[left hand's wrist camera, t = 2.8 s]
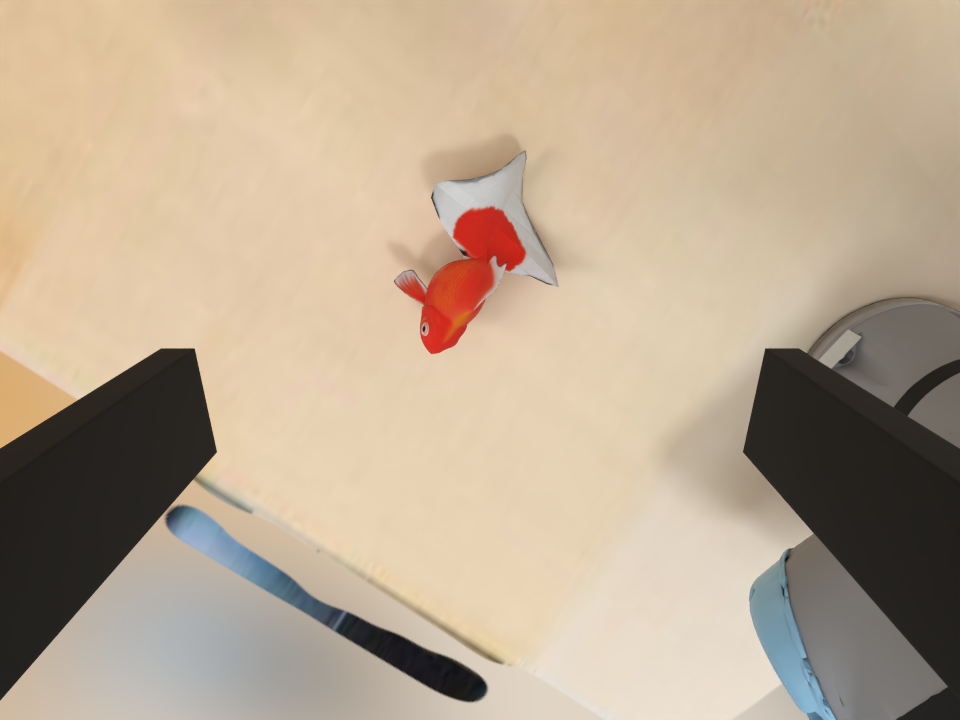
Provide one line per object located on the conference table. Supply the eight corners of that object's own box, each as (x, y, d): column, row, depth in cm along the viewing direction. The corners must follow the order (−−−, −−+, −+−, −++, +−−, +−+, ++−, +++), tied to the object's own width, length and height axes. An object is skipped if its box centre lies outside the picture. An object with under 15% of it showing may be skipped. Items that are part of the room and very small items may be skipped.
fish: (330, 272, 39) (381, 294, 31) (460, 122, 41) (540, 106, 33) (424, 356, 45) (487, 393, 37) (533, 222, 47) (615, 228, 39)
